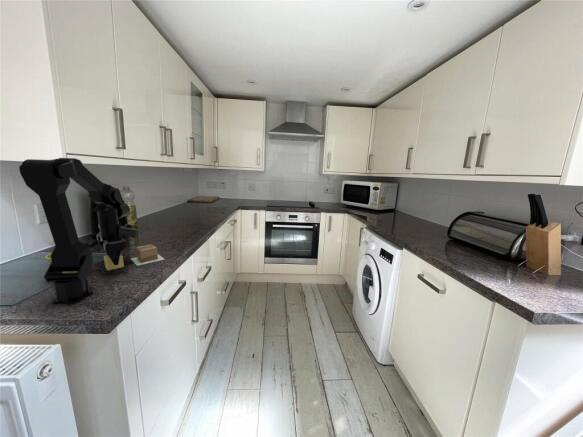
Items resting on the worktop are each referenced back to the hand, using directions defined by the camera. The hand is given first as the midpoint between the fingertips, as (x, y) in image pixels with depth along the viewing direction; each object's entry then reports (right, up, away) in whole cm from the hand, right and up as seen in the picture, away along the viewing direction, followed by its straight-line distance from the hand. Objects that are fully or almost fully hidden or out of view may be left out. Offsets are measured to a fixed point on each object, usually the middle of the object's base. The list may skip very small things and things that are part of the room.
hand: (113, 261), depth 89 cm
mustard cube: (0, -3, +1) cm, 3 cm away
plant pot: (-10, -4, -8) cm, 13 cm away
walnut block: (+7, -1, +9) cm, 12 cm away
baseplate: (+7, -1, +9) cm, 12 cm away
